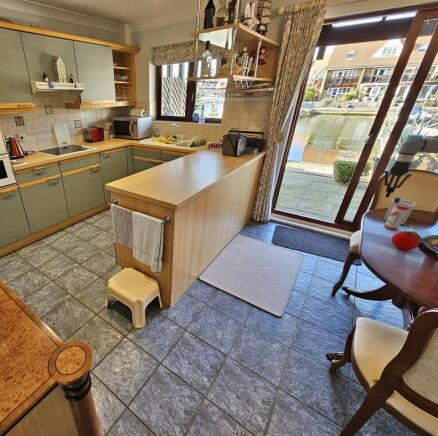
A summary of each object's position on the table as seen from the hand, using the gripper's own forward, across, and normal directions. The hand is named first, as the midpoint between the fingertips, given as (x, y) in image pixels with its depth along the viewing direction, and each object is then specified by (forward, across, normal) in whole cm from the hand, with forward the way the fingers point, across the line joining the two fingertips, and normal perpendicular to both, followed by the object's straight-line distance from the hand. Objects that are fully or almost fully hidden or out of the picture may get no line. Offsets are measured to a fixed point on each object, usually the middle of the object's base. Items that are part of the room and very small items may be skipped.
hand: (387, 196), depth 161 cm
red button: (+12, +19, -25) cm, 33 cm away
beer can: (+15, +9, -14) cm, 23 cm away
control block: (+15, +19, -24) cm, 35 cm away
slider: (+2, +5, 0) cm, 5 cm away
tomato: (+15, +18, -38) cm, 45 cm away
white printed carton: (+15, +8, +4) cm, 18 cm away
